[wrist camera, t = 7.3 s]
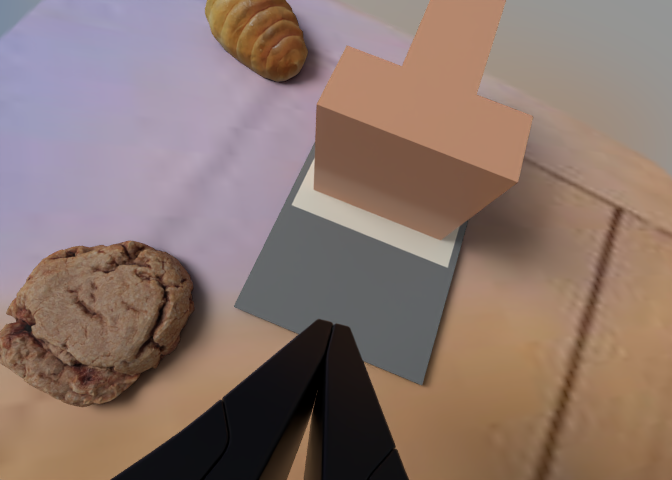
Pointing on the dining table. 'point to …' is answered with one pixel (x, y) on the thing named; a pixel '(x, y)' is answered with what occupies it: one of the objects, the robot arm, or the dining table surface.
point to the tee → (421, 125)
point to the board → (353, 277)
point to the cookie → (96, 320)
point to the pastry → (259, 35)
